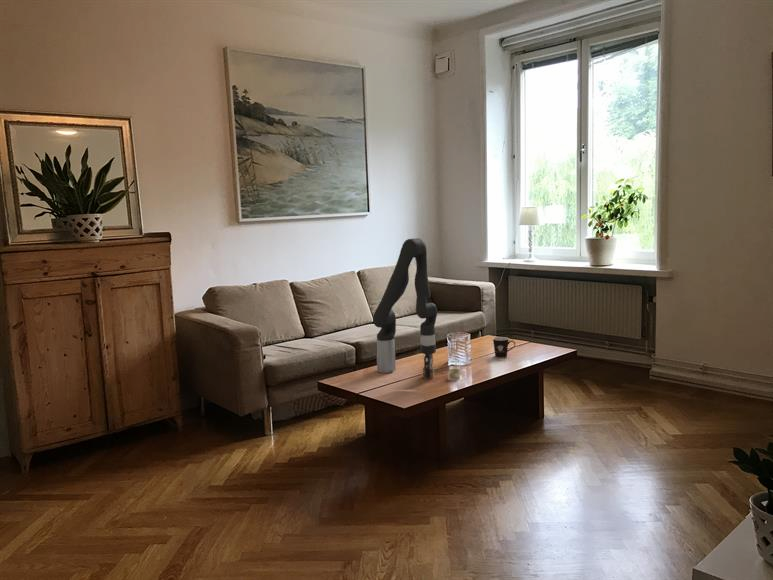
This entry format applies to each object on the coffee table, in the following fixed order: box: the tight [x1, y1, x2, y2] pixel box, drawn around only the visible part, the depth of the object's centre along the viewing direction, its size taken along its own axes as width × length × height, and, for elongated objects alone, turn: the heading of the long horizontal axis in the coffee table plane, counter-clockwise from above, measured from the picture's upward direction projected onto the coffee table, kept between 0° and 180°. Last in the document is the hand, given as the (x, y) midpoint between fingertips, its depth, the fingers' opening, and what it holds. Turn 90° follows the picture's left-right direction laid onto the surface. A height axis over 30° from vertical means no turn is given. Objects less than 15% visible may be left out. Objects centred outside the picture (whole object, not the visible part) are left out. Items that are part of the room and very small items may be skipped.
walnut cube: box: [422, 365, 435, 380], centre depth 314 cm, size 5×5×5 cm
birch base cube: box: [448, 365, 461, 379], centre depth 311 cm, size 5×5×5 cm
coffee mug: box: [492, 336, 516, 358], centre depth 352 cm, size 12×9×10 cm
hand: (429, 375), depth 314 cm, fingers open, 8 cm apart
